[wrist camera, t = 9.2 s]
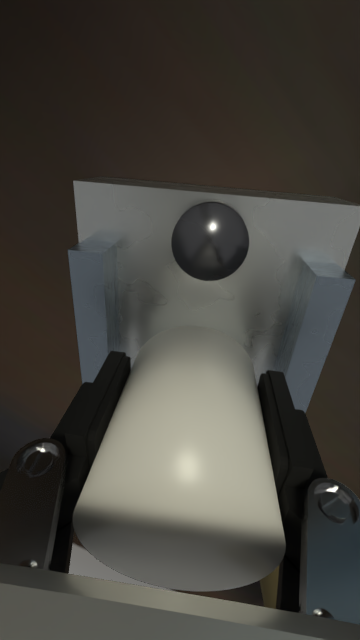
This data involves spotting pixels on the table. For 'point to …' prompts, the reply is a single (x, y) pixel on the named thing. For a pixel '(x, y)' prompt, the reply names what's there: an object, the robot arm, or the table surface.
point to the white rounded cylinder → (185, 470)
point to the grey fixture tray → (211, 271)
